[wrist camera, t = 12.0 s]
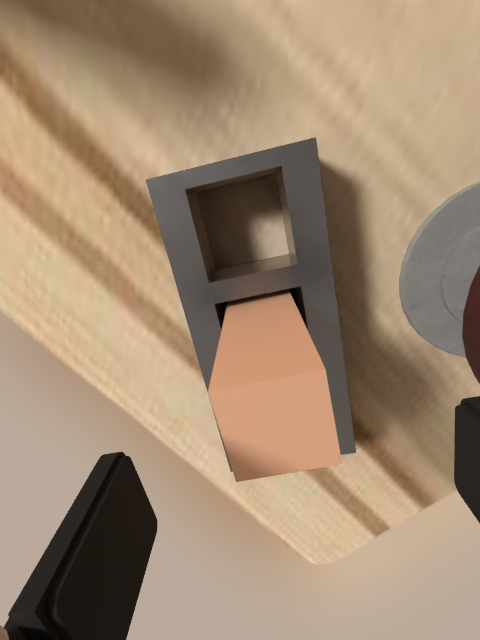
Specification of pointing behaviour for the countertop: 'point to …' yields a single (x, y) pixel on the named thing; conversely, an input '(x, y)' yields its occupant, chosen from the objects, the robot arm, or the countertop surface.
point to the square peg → (271, 390)
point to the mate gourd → (446, 277)
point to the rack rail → (260, 276)
